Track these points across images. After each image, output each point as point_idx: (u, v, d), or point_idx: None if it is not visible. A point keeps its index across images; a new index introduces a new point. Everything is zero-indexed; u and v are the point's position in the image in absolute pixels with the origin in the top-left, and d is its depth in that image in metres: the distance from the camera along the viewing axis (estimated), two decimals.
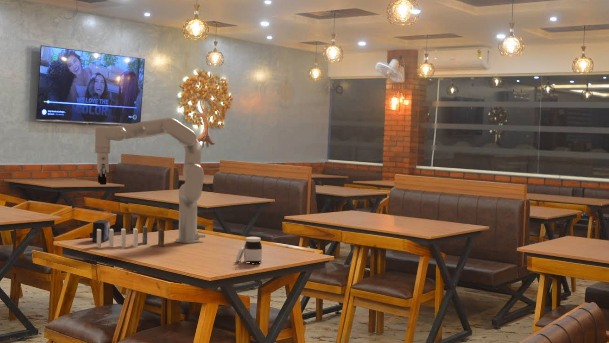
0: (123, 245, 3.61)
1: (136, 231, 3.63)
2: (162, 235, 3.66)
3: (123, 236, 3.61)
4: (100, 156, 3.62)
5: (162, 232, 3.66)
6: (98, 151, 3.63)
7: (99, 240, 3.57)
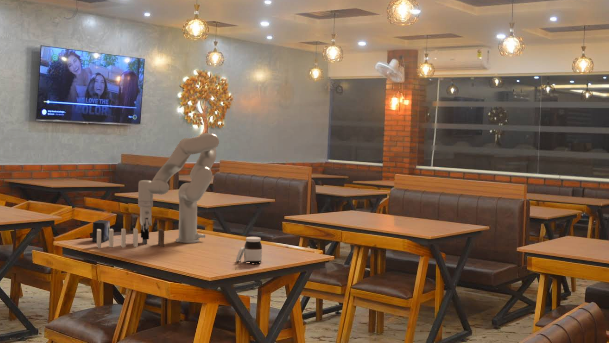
0: (123, 245, 3.61)
1: (136, 231, 3.63)
2: (162, 235, 3.66)
3: (123, 236, 3.61)
4: (143, 210, 3.70)
5: (162, 232, 3.66)
6: (141, 205, 3.71)
7: (99, 240, 3.57)
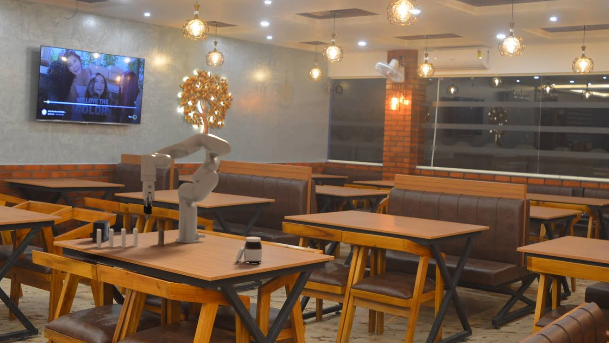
0: (123, 245, 3.61)
1: (136, 231, 3.63)
2: (162, 235, 3.66)
3: (123, 236, 3.61)
4: (146, 184, 3.61)
5: (162, 232, 3.66)
6: (144, 179, 3.62)
7: (99, 240, 3.57)
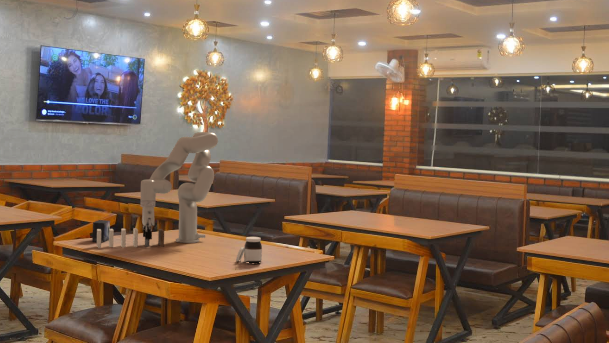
0: (123, 245, 3.61)
1: (136, 231, 3.63)
2: (162, 235, 3.66)
3: (123, 236, 3.61)
4: (146, 210, 3.62)
5: (162, 232, 3.66)
6: (144, 205, 3.63)
7: (99, 240, 3.57)
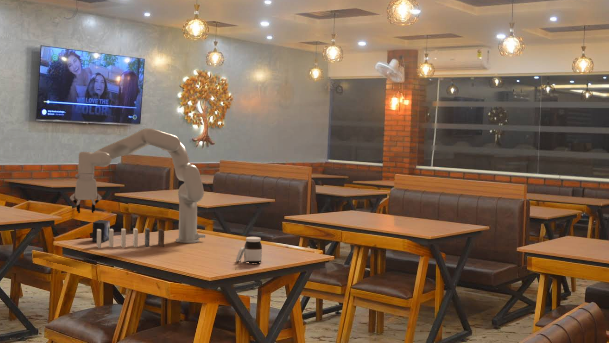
0: (123, 245, 3.61)
1: (136, 231, 3.63)
2: (162, 235, 3.66)
3: (123, 236, 3.61)
4: None
5: (162, 232, 3.66)
6: None
7: (99, 240, 3.57)
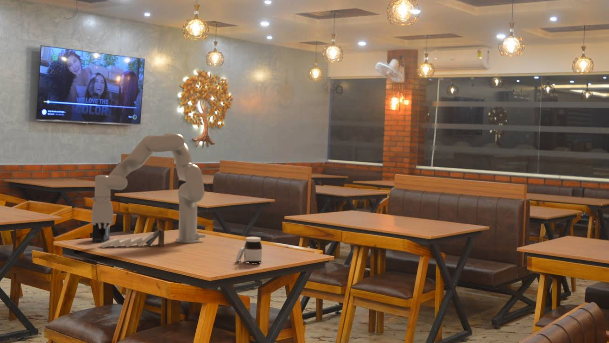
0: (127, 244, 3.62)
1: (151, 236, 3.66)
2: (162, 235, 3.66)
3: (136, 241, 3.63)
4: None
5: (162, 232, 3.66)
6: None
7: (109, 244, 3.58)
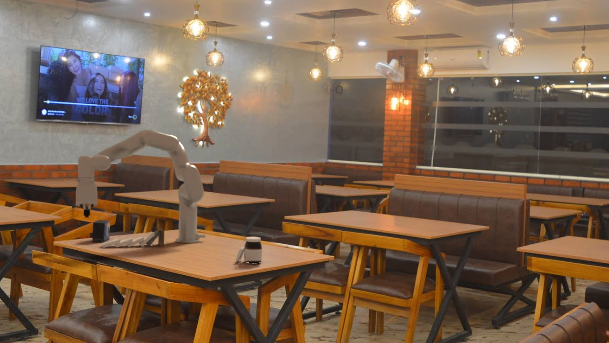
0: (129, 244, 3.62)
1: (152, 235, 3.66)
2: (162, 235, 3.66)
3: (137, 241, 3.63)
4: None
5: (162, 232, 3.66)
6: None
7: (110, 244, 3.59)
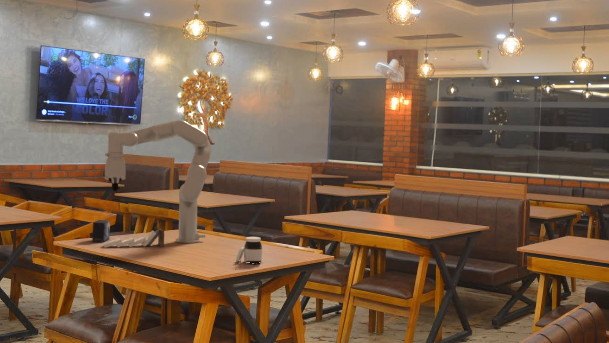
0: (130, 244, 3.62)
1: (154, 233, 3.66)
2: (162, 235, 3.66)
3: (139, 241, 3.63)
4: None
5: (162, 232, 3.66)
6: None
7: (111, 244, 3.59)
